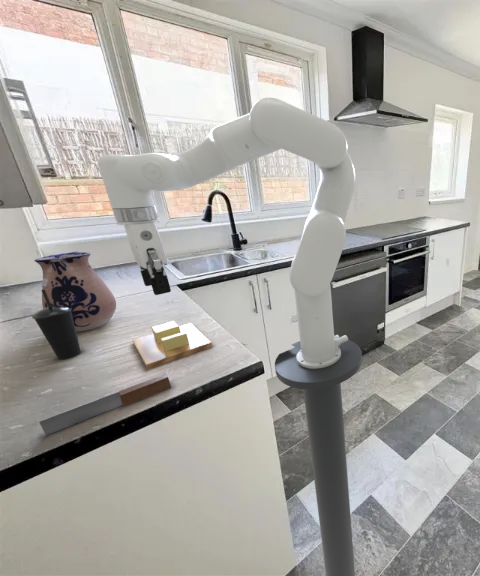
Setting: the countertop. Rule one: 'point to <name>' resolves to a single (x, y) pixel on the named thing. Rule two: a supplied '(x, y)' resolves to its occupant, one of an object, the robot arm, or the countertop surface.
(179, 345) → the butter slice
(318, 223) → the robot arm
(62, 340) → the drinking cup
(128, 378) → the countertop surface
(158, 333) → the butter block
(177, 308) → the countertop surface
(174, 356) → the board
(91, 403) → the knife
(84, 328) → the ceramic pitcher
